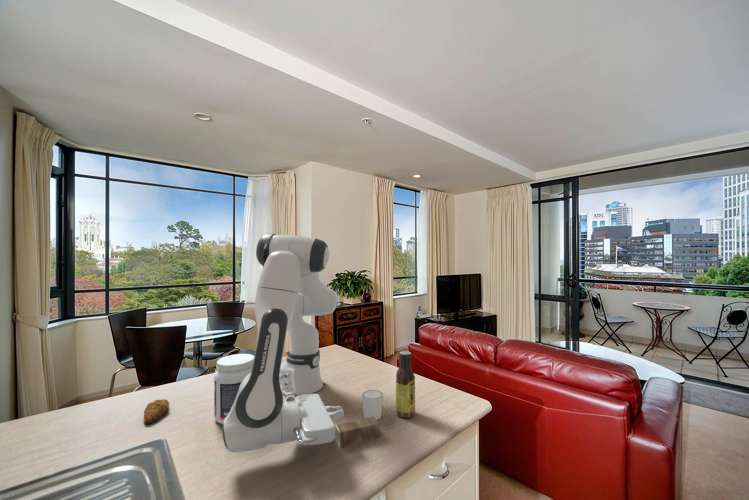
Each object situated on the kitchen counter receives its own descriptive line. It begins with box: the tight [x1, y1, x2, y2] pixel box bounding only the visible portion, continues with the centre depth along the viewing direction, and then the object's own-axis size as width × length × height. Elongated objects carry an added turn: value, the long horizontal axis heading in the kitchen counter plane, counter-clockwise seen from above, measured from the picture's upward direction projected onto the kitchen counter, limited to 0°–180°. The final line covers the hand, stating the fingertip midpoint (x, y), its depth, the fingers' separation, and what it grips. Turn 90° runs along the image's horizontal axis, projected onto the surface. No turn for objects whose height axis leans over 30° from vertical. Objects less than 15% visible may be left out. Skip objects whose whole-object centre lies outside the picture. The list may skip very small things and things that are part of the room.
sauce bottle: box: [395, 350, 416, 419], centre depth 101 cm, size 6×6×20 cm
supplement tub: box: [213, 353, 255, 425], centre depth 100 cm, size 13×13×18 cm
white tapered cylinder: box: [361, 389, 384, 421], centre depth 100 cm, size 7×7×7 cm
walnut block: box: [334, 417, 381, 448], centre depth 88 cm, size 4×4×12 cm
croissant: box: [143, 398, 170, 425], centre depth 101 cm, size 14×7×5 cm, turn 16°
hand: (342, 411), depth 86 cm, fingers closed
